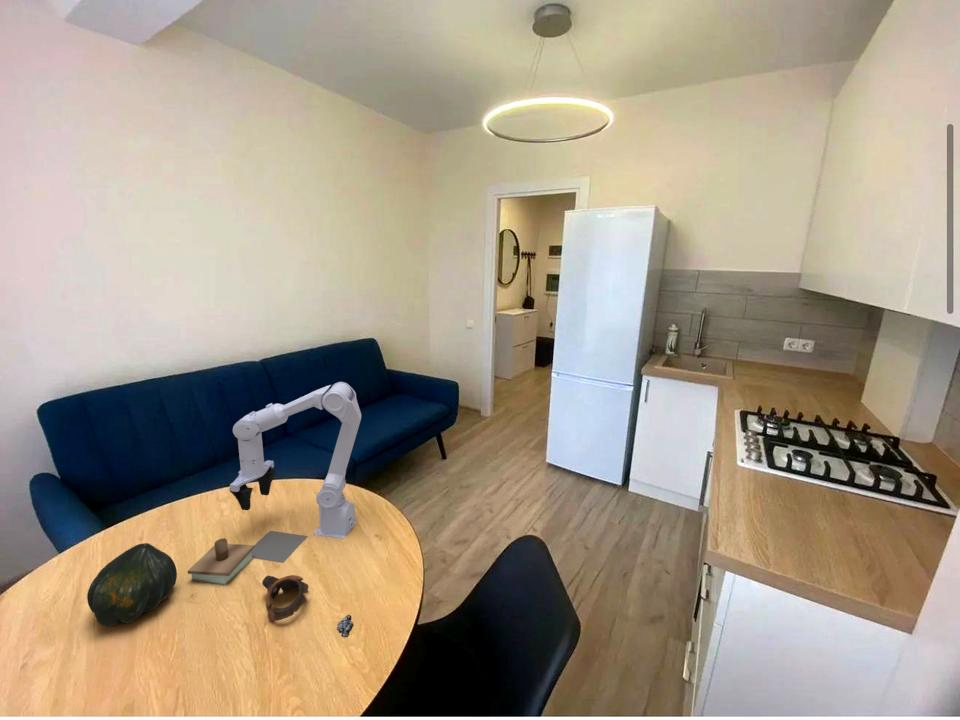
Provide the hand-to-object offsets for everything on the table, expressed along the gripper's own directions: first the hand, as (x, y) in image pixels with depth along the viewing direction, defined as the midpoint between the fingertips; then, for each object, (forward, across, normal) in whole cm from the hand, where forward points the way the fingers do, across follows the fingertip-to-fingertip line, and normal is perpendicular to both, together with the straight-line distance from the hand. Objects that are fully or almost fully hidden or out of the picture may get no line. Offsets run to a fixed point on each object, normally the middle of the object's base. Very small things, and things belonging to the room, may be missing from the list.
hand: (255, 501), depth 111 cm
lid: (+7, +15, +2) cm, 17 cm away
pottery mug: (+10, +21, +24) cm, 33 cm away
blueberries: (+11, +24, +40) cm, 48 cm away
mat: (+10, +4, +9) cm, 14 cm away
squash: (+10, +28, -8) cm, 31 cm away
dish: (+10, +15, +2) cm, 18 cm away
